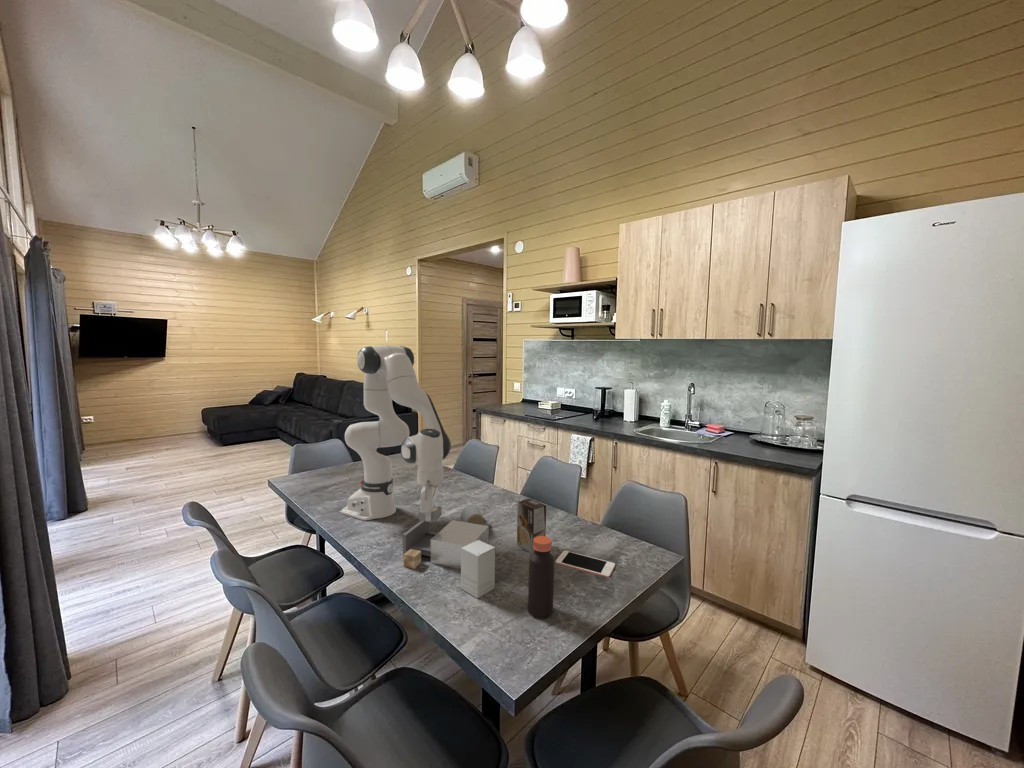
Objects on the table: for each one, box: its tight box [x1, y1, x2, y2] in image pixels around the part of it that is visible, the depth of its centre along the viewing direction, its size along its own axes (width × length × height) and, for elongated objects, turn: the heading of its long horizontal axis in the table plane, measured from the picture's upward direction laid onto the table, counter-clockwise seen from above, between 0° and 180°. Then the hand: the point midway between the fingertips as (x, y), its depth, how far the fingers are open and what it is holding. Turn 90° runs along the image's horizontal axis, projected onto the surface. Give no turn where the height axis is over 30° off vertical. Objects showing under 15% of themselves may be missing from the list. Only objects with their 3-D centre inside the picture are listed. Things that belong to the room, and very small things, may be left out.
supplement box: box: [460, 540, 496, 599], centre depth 121 cm, size 7×7×13 cm
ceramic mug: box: [460, 505, 490, 527], centre depth 162 cm, size 11×8×8 cm
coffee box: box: [516, 498, 547, 554], centre depth 147 cm, size 9×6×16 cm
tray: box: [402, 520, 438, 558], centre depth 144 cm, size 15×16×8 cm
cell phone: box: [555, 550, 616, 578], centre depth 137 cm, size 9×18×1 cm, turn 63°
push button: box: [418, 505, 443, 523], centre depth 143 cm, size 6×6×3 cm
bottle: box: [527, 535, 556, 619], centre depth 111 cm, size 7×7×20 cm
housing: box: [430, 519, 490, 570], centre depth 140 cm, size 14×16×8 cm
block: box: [403, 549, 422, 569], centre depth 134 cm, size 4×4×4 cm
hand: (430, 515), depth 143 cm, fingers closed on push button, 7 cm apart
